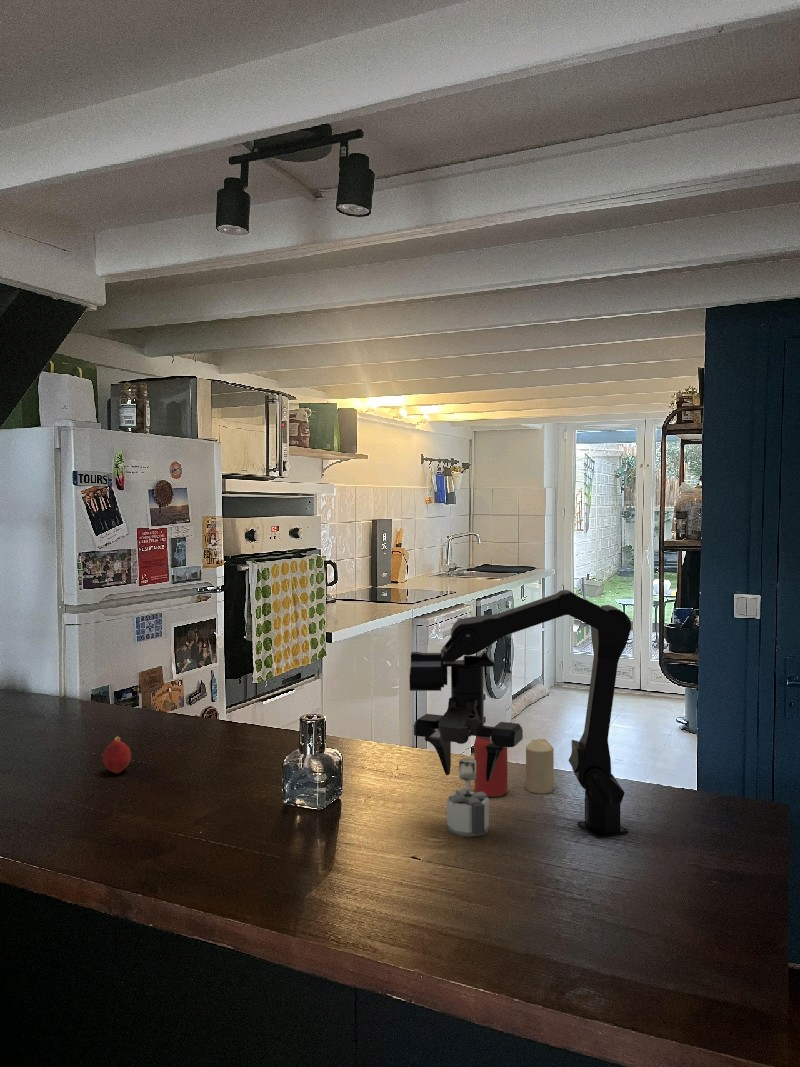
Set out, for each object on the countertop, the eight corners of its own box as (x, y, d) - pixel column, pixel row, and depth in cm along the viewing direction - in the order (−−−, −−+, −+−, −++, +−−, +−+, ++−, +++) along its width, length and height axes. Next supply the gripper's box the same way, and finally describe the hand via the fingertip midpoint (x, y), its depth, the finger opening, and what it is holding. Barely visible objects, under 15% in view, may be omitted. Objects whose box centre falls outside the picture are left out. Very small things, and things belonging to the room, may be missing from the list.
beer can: (506, 799, 161) (506, 738, 160) (472, 797, 162) (472, 737, 161) (508, 787, 167) (508, 729, 167) (476, 785, 168) (476, 728, 168)
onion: (125, 778, 175) (125, 741, 175) (99, 778, 175) (98, 741, 175) (135, 769, 181) (134, 733, 180) (109, 769, 181) (108, 733, 181)
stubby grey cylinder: (485, 806, 145) (485, 763, 144) (461, 810, 143) (461, 766, 143) (474, 797, 149) (473, 755, 149) (450, 801, 147) (450, 758, 147)
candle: (545, 796, 162) (545, 746, 162) (521, 790, 166) (521, 741, 165) (558, 788, 167) (558, 739, 166) (534, 782, 170) (534, 735, 170)
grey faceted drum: (498, 835, 143) (498, 801, 143) (460, 842, 141) (460, 807, 140) (477, 818, 151) (477, 786, 151) (441, 824, 148) (441, 791, 148)
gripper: (400, 695, 142) (401, 784, 143) (504, 706, 134) (504, 800, 135) (425, 682, 152) (426, 765, 153) (523, 691, 144) (523, 779, 145)
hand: (467, 777), depth 146 cm, fingers open, 7 cm apart
